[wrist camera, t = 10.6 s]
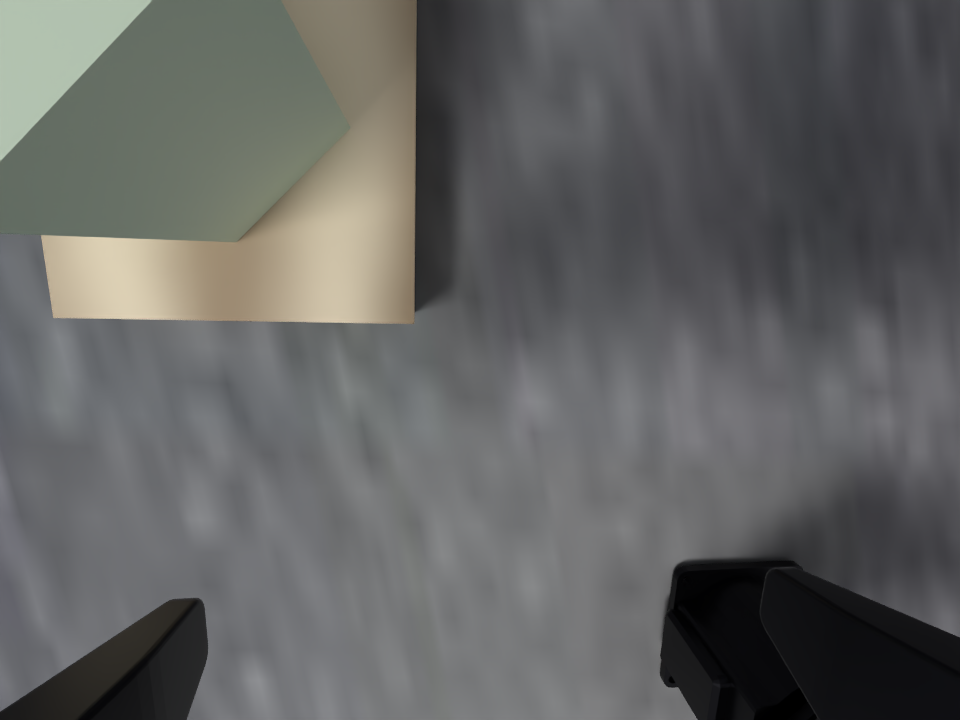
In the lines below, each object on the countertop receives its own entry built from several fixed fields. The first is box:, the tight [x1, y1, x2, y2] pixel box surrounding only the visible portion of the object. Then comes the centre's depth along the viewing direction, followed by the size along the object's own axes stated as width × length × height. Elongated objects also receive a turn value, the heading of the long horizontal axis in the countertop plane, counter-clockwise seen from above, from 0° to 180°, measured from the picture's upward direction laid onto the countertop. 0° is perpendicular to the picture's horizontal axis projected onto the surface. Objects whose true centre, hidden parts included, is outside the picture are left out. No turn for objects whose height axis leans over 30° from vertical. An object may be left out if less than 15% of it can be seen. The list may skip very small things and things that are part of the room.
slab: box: [41, 0, 417, 324], centre depth 16 cm, size 11×12×3 cm
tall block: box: [0, 0, 350, 242], centre depth 10 cm, size 5×5×10 cm
